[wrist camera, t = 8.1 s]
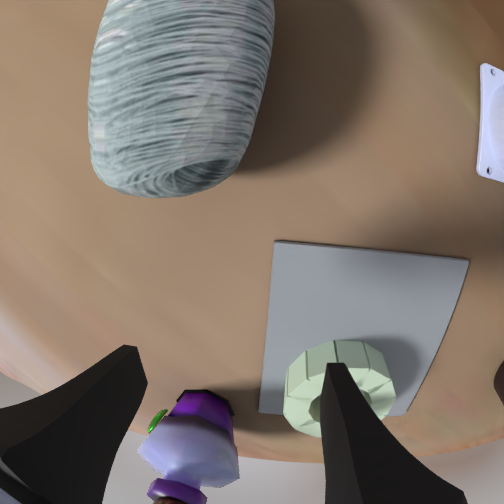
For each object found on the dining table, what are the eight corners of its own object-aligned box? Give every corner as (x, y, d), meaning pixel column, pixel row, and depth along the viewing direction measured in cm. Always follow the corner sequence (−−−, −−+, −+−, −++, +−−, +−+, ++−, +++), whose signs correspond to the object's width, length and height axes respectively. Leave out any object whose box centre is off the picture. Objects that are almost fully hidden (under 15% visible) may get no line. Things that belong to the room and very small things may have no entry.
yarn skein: (272, 232, 15) (91, 205, 7) (152, 192, 20) (15, 167, 11) (334, 16, 13) (251, -109, 5) (212, 25, 18) (116, -45, 9)
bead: (399, 341, 20) (410, 368, 17) (369, 411, 23) (374, 436, 20) (292, 337, 21) (292, 365, 18) (280, 408, 24) (278, 435, 21)
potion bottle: (160, 365, 24) (102, 477, 13) (258, 389, 24) (237, 517, 13) (163, 420, 28) (124, 512, 16) (243, 440, 27) (224, 540, 16)
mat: (466, 259, 18) (469, 261, 17) (402, 412, 24) (403, 415, 23) (274, 240, 19) (273, 242, 19) (258, 409, 25) (258, 412, 24)
